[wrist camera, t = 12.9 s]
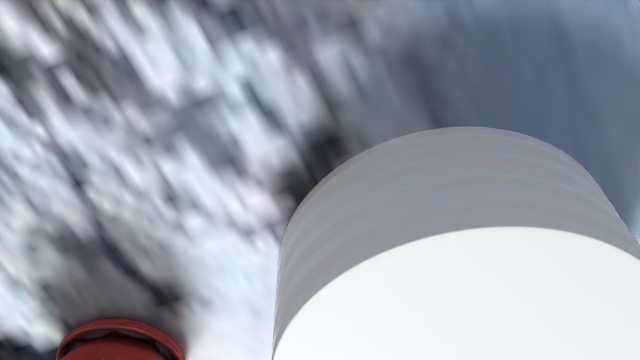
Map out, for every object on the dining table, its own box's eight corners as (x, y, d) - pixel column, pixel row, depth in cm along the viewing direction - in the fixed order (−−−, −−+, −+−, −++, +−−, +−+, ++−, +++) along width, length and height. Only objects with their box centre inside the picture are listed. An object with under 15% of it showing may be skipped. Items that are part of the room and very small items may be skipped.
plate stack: (303, 386, 59) (302, 502, 50) (248, 149, 44) (231, 254, 34) (589, 359, 58) (644, 475, 48) (639, 103, 42) (735, 200, 32)
